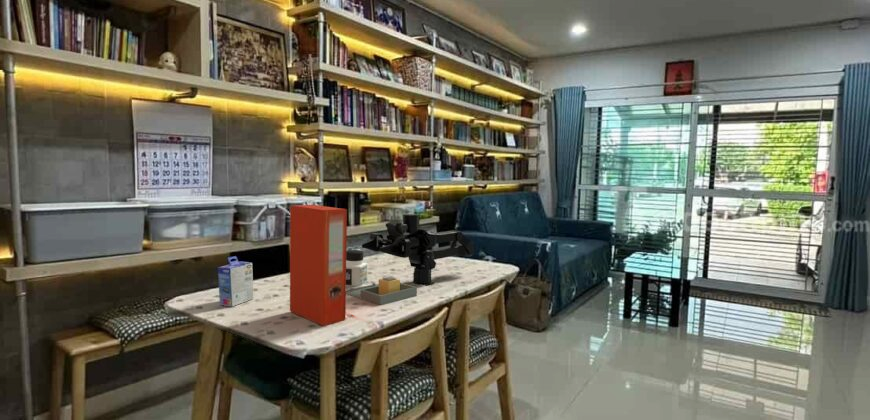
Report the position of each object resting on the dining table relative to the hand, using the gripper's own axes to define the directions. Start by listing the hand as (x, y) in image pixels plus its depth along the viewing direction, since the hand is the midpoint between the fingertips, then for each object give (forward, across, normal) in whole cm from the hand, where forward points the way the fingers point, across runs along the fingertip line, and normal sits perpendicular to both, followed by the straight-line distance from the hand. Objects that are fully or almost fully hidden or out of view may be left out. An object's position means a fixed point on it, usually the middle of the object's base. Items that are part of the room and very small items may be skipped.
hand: (370, 247), depth 158 cm
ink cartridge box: (+36, -23, +17) cm, 46 cm away
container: (-5, -16, +17) cm, 24 cm away
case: (-2, +7, +17) cm, 18 cm away
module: (-2, +7, +16) cm, 18 cm away
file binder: (+25, +6, +17) cm, 30 cm away
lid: (-2, -3, +17) cm, 17 cm away
